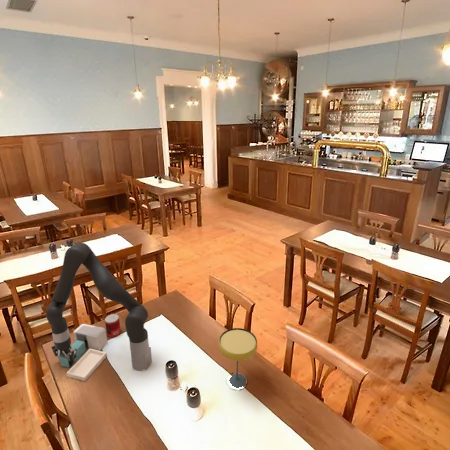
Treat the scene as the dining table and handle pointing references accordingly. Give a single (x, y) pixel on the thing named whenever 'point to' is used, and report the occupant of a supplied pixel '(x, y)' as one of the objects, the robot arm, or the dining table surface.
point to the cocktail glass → (238, 350)
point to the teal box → (80, 350)
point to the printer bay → (91, 336)
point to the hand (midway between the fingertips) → (67, 363)
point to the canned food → (112, 325)
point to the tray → (86, 365)
